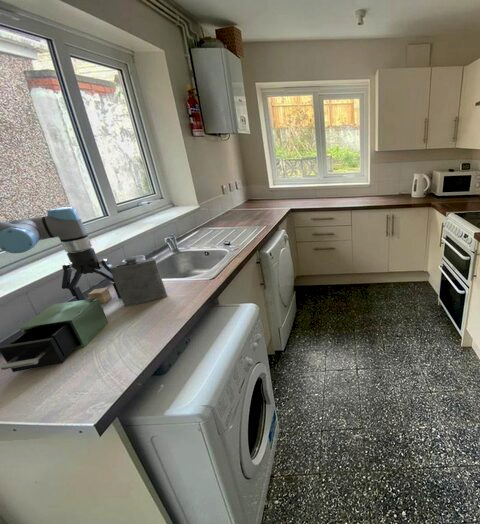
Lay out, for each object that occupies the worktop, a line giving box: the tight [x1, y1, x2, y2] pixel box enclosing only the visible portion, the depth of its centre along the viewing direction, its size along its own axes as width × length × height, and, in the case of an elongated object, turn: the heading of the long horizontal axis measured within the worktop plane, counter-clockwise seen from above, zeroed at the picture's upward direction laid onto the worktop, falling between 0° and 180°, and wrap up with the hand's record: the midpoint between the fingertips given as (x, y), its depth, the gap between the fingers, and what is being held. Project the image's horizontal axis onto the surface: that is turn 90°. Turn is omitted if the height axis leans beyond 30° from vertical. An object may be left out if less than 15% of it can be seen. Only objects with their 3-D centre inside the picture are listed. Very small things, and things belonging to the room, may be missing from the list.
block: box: [87, 287, 112, 304], centre depth 113 cm, size 4×4×4 cm
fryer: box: [19, 298, 109, 350], centre depth 89 cm, size 14×13×10 cm
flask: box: [109, 256, 168, 307], centre depth 108 cm, size 4×14×18 cm, turn 116°
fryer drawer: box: [0, 323, 80, 373], centre depth 80 cm, size 17×11×8 cm
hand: (102, 299), depth 114 cm, fingers open, 13 cm apart
